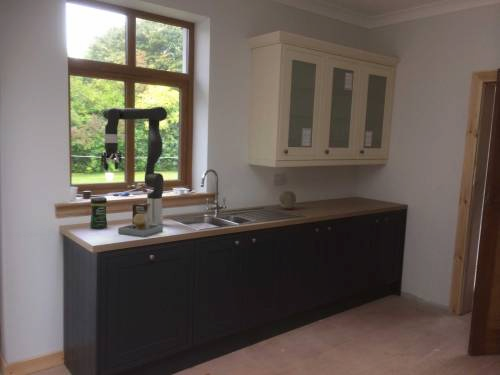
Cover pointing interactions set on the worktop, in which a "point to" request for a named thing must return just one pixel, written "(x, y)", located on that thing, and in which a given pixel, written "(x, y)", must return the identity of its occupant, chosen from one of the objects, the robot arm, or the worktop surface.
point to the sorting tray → (140, 233)
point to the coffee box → (141, 216)
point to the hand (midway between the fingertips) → (111, 169)
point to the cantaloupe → (287, 199)
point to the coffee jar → (98, 212)
